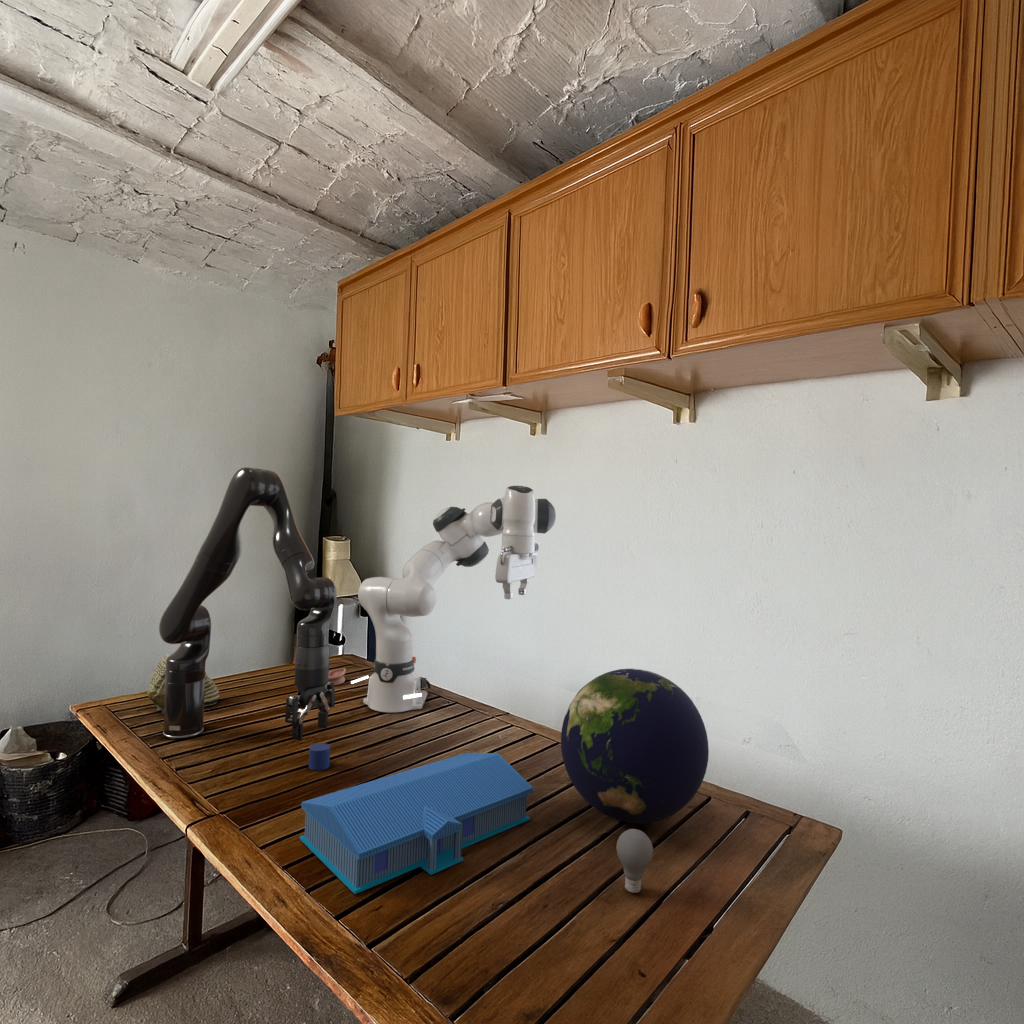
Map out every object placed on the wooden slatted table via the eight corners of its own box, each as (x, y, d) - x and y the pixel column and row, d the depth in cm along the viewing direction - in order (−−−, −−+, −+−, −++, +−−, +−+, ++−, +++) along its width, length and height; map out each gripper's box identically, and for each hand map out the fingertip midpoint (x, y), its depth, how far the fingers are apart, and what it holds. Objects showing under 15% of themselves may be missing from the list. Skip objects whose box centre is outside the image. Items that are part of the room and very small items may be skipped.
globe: (537, 831, 123) (544, 678, 123) (580, 772, 151) (585, 647, 150) (696, 871, 112) (704, 703, 111) (710, 800, 140) (717, 665, 139)
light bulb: (610, 879, 108) (613, 822, 108) (644, 879, 109) (647, 822, 109) (619, 902, 102) (622, 840, 102) (655, 901, 103) (658, 840, 103)
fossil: (144, 707, 182) (145, 655, 182) (212, 696, 194) (213, 647, 194) (151, 716, 175) (153, 662, 175) (221, 703, 188) (223, 653, 188)
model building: (364, 904, 99) (367, 841, 99) (298, 838, 117) (300, 784, 117) (541, 825, 125) (544, 775, 125) (465, 781, 144) (467, 737, 143)
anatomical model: (297, 672, 210) (315, 663, 221) (297, 684, 210) (314, 675, 221) (334, 676, 207) (350, 667, 219) (333, 688, 208) (349, 679, 219)
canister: (309, 771, 146) (310, 751, 145) (307, 763, 150) (308, 744, 150) (330, 769, 147) (331, 749, 147) (328, 761, 152) (329, 742, 152)
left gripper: (303, 673, 139) (302, 746, 139) (344, 659, 152) (342, 726, 152) (277, 669, 142) (275, 741, 142) (319, 655, 155) (317, 721, 155)
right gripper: (513, 548, 160) (510, 602, 161) (541, 544, 179) (539, 593, 179) (490, 546, 163) (488, 600, 163) (521, 543, 182) (519, 591, 182)
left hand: (310, 733), depth 147 cm, fingers open, 8 cm apart
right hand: (515, 596), depth 171 cm, fingers open, 8 cm apart
